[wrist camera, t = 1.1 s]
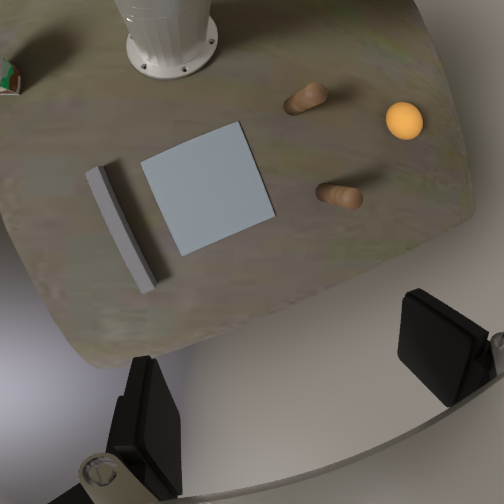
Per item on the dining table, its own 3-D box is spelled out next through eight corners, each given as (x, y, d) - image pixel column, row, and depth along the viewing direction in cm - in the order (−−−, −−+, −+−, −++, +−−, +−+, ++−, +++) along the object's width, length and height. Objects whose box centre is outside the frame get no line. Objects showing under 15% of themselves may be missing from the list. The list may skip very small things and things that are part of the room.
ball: (373, 108, 40) (395, 103, 35) (400, 101, 41) (423, 96, 35) (385, 144, 42) (408, 143, 36) (411, 135, 43) (434, 134, 37)
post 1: (280, 100, 38) (302, 85, 29) (297, 96, 38) (322, 80, 30) (287, 117, 39) (311, 105, 30) (304, 112, 39) (330, 100, 30)
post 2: (313, 186, 42) (341, 192, 33) (328, 180, 42) (359, 184, 34) (318, 203, 43) (347, 213, 34) (334, 197, 43) (365, 205, 34)
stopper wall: (91, 172, 36) (84, 173, 34) (103, 166, 36) (97, 166, 34) (145, 287, 42) (142, 294, 39) (157, 282, 42) (154, 288, 39)
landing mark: (140, 162, 37) (140, 162, 37) (237, 121, 38) (238, 121, 38) (182, 255, 41) (182, 256, 41) (275, 215, 42) (275, 215, 42)
